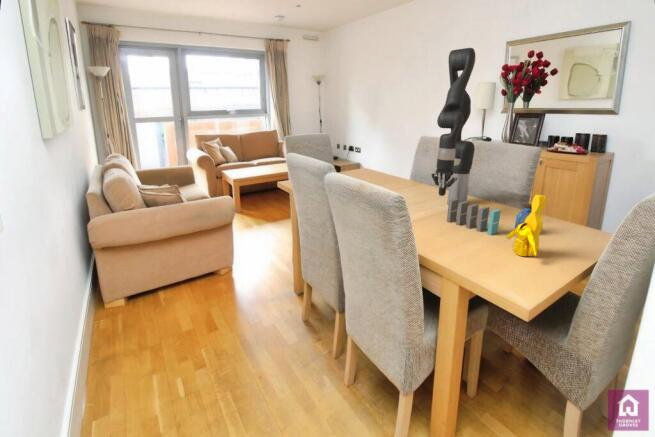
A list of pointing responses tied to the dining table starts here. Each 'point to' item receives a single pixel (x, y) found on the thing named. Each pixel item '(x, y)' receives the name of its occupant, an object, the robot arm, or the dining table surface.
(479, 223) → the tile
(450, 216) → the tile
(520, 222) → the perfume bottle
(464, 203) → the tile
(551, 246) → the dining table surface
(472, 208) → the tile
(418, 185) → the dining table surface
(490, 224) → the end tile
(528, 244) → the figure statuette
